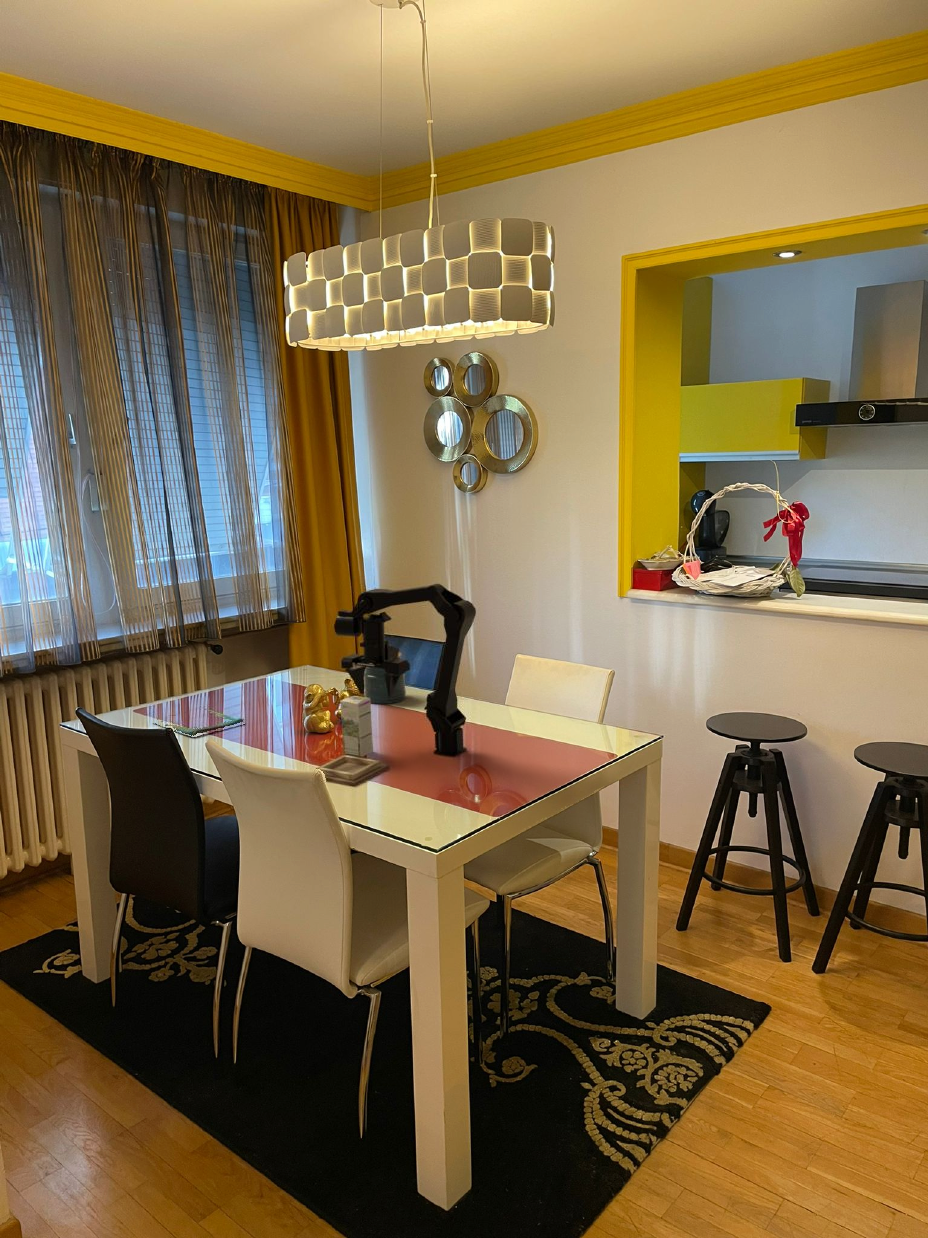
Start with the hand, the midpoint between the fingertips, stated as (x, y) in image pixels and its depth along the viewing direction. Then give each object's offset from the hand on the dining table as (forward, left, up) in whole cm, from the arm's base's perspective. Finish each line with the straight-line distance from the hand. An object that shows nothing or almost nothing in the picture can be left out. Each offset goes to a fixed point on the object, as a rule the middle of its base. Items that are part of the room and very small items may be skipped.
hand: (376, 695), depth 241 cm
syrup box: (0, +9, -13) cm, 16 cm away
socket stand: (-7, +22, -13) cm, 26 cm away
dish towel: (+59, +8, -14) cm, 61 cm away
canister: (+25, -38, -13) cm, 47 cm away
